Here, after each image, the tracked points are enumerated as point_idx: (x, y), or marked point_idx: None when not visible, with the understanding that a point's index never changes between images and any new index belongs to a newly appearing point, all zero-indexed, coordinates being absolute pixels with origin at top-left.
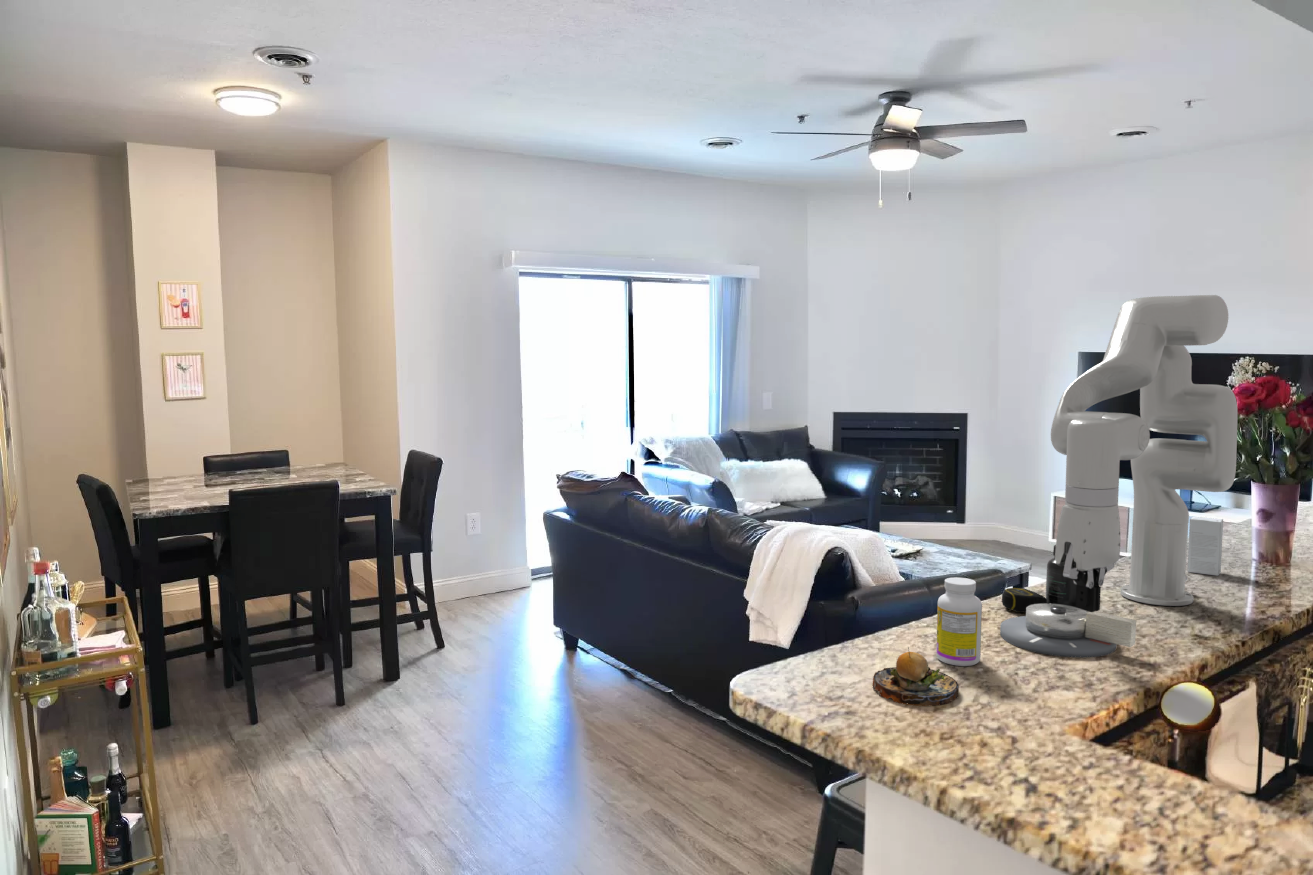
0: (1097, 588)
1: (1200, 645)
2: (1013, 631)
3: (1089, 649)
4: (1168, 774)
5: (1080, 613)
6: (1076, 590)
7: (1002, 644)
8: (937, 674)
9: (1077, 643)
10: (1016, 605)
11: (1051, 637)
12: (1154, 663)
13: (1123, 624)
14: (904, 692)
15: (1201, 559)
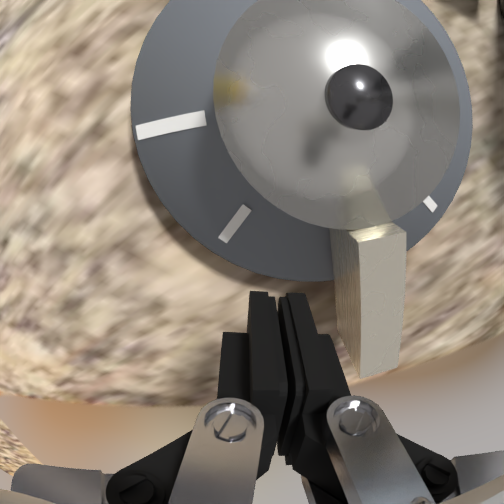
0: (286, 454)
1: (494, 314)
2: (187, 25)
3: (250, 269)
4: (35, 459)
5: (408, 169)
6: (251, 352)
7: (121, 53)
8: None
9: (266, 220)
10: None
11: None
12: (341, 349)
13: (356, 354)
14: None
15: None
